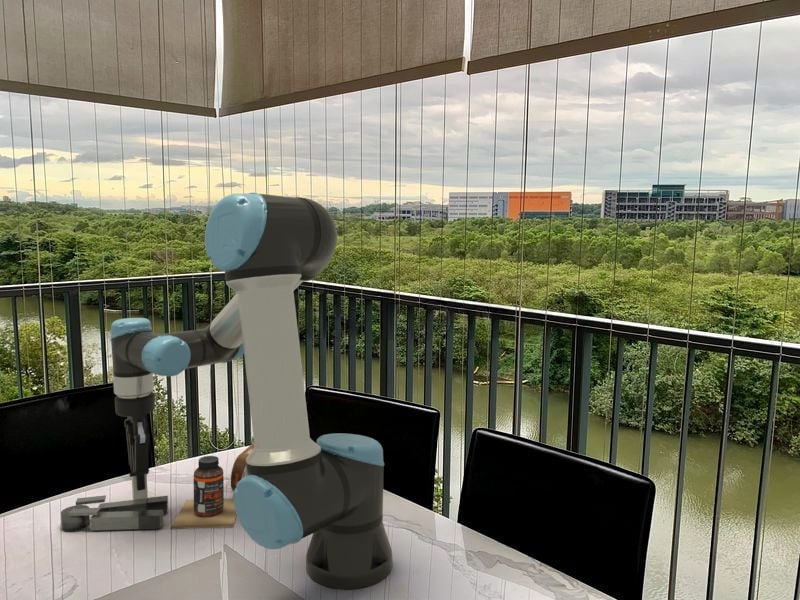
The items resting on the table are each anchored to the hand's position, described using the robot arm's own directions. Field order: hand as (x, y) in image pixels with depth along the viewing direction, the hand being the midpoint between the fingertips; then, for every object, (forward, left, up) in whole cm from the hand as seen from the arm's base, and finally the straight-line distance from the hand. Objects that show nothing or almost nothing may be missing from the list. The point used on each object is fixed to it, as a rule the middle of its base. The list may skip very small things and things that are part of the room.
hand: (140, 502), depth 127 cm
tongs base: (-6, +3, -2) cm, 7 cm away
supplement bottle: (-3, -15, -1) cm, 15 cm away
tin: (+12, -21, -2) cm, 24 cm away
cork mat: (-3, -15, -2) cm, 15 cm away
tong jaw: (-3, +3, -2) cm, 4 cm away
